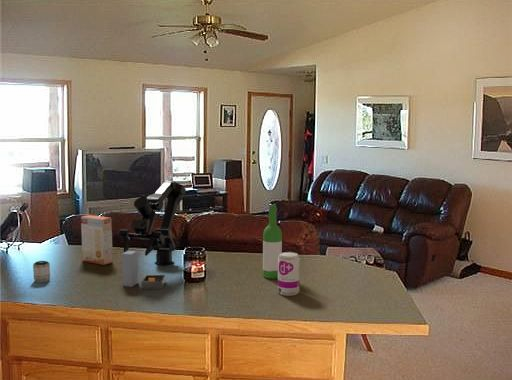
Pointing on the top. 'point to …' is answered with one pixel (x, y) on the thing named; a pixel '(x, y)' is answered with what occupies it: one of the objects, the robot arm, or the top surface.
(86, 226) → the cracker box
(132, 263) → the grey rectangular prism
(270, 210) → the wine bottle
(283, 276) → the supplement can
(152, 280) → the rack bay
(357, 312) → the top surface
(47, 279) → the camera lens
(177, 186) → the robot arm
